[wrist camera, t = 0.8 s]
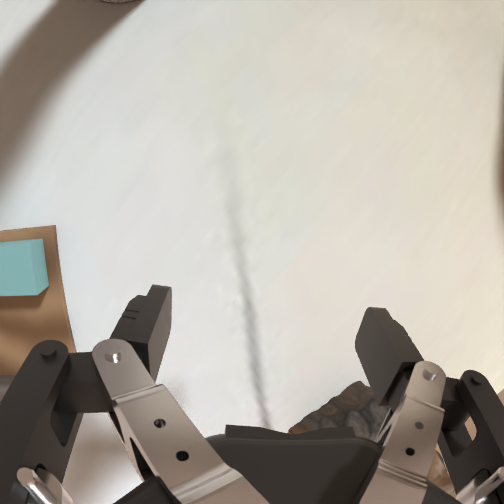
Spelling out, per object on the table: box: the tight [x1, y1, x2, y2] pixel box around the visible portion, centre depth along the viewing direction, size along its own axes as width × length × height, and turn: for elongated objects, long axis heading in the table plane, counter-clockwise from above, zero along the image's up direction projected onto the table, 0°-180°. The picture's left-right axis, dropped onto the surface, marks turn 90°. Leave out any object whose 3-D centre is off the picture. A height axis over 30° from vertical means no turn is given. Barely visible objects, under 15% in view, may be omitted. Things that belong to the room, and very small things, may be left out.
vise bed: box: [0, 225, 77, 402], centre depth 25 cm, size 19×12×4 cm, turn 1°
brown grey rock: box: [288, 381, 455, 495], centre depth 29 cm, size 13×13×20 cm
